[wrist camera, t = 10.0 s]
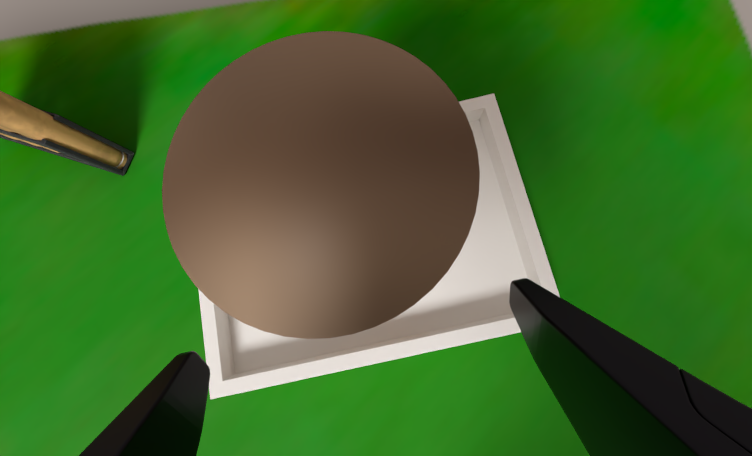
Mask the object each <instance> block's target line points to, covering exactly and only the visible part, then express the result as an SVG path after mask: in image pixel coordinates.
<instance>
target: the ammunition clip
mask: <svg viewBox="0 0 752 456" xmlns="http://www.w3.org/2000/svg"><path fill="white" fill-rule="evenodd" d="M0 137H1V138H4V139H7V140H10V141H13V142H16V143H20V144H23V145H26V146H29V147H32V148H36V149H39V150H42V151H45V152H49V153H52V154H55V155H58V156H61V157H65V158H68V159H71V160H74V161H77V162H81V163H84V164H87V165H90V166H93V167H97V168H100V169H103V170H106V171H109V172H113V173H116V174H119V175H122V176H123V175H124V174H125V172H126V170H127V168H128V166H129V164H130V161H131V159H132V157H133V155H134V152H132V151H130V150H128V149H126V148H124V147H122V146H120V145H118V144H116V143H114V142H112V141H110V140H108V139H106V138H104V137H102V136H100V135H98V134H96V133H94V132H92V131H90V130H88V129H86V128H83V127H81V126H79V125H77V124H75V123H73V122H71V121H69V120H67V119H65V118H63V117H61V116H59V115H57V114H53V113H50V112H47V111H43V110H40V109H37V108H35V107H33V106H31V105H29V104H27V103H25V102H23V101H21V100H19V99H16V98H14V97H12V96H10V95H8V94H6V93H4V92H2V91H0Z"/></svg>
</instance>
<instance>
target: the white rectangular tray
mask: <svg viewBox="0 0 752 456" xmlns="http://www.w3.org/2000/svg"><path fill="white" fill-rule="evenodd" d="M459 104H460V105H461V107H462V109H463V110H464V112H465V114H466V117H467V119H468V122H469V124H470V126H471V129H472V131H473V135H474V139H475V143H476V147H477V151H478V160H479V169H480V180H479V196H478V202H477V207H476V213H475V216H474V220H473V223H472V226H471V229H470V232H469V235H468V237H467V239H466V241H465V243H464V245H463V247H462V249H461V251H460V254H459V255H458V257H457V258H456V260H455V261H454V263H453V264H452V266H451V267H450V269H449V270H448V272H447V273H446V274H445V275H444V276H443V278H442V279H441V280H440V281H439V282H438V283H437V284H436V286H435V287H434V288H433V289H432V290H431V291H430V292H429V293H427V294H426V295H425V296H424V297H423V298H422V299H421V300H419V301H418V302H417V303H416V304H415V305H413V306H412V307H410V308H409V309H407V310H406V311H404V312H403V313H401V314H400V315H398V316H397V317H395V318H393V319H391V320H389V321H386V322H384V323H382V324H380V325H378V326H376V327H374V328H370V329H367V330H364V331H361V332H358V333H355V334H351V335H345V336H339V337H334V338H320V339H303V338H293V337H284V336H280V335H276V334H272V333H268V332H264V331H262V330H259V329H257V328H254V327H252V326H249V325H247V324H244V323H242V322H241V321H239V320H237V319H235V318H234V317H232V316H230V315H229V314H227V313H225V312H224V311H223V310H221V309H220V308H219V307H218V306H216V305H215V304H214V303H213V302H211V301H210V300H209V299H208V298H207V297H206V296H205V295H204V294H203V293H202V292H201V291H200V290H199V298H200V308H201V317H202V326H203V336H204V345H205V354H206V364H207V365H208V366H209V368H210V381H209V391H210V399H214V398H219V397H224V396H228V395H233V394H237V393H242V392H247V391H251V390H256V389H261V388H265V387H270V386H274V385H279V384H284V383H288V382H293V381H297V380H302V379H307V378H311V377H316V376H321V375H325V374H330V373H334V372H339V371H344V370H348V369H353V368H357V367H362V366H367V365H371V364H376V363H381V362H385V361H390V360H394V359H399V358H404V357H408V356H413V355H418V354H422V353H427V352H431V351H436V350H441V349H445V348H450V347H454V346H459V345H464V344H468V343H473V342H478V341H482V340H487V339H491V338H496V337H501V336H505V335H510V334H514V333H519V332H521V330H520V328H519V326H518V323H517V321H516V319H515V317H514V315H513V312H512V310H511V307H510V304H509V296H510V284H511V282H512V281H513V280H518V279H522V278H527V279H530V280H531V281H533V282H535V283H536V284H538V285H540V286H541V287H543V288H545V289H547V290H548V291H550V292H552V293H553V294H555V295H557V296H558V297H560V296H559V293H558V290H557V286H556V283H555V280H554V277H553V274H552V271H551V268H550V265H549V262H548V259H547V256H546V252H545V249H544V246H543V243H542V240H541V237H540V234H539V231H538V228H537V225H536V222H535V218H534V215H533V212H532V209H531V206H530V203H529V200H528V197H527V194H526V191H525V188H524V184H523V181H522V178H521V175H520V172H519V169H518V166H517V163H516V160H515V157H514V153H513V150H512V147H511V144H510V141H509V138H508V135H507V132H506V129H505V126H504V123H503V119H502V116H501V113H500V110H499V107H498V104H497V101H496V98H495V95H494V94H489V95H485V96H481V97H477V98H472V99H468V100H464V101H460V102H459Z"/></svg>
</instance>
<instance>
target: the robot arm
mask: <svg viewBox="0 0 752 456" xmlns="http://www.w3.org/2000/svg"><path fill="white" fill-rule="evenodd" d="M509 304H510V307H511V310H512V312H513V315H514V317H515V319H516V321H517V323H518V326H519V328H520V330H521V332H522V334H523V337H524V339H525V341H526V343H527V345H528V348H529V350H530V352H531V354H532V356H533V358H534V360H535V362H536V364H537V366H538V368H539V370H540V371H541V373H542V375H543V376H544V378H545V380H546V381H547V383H548V385H549V387H550V388H551V390H552V392H553V393H554V395H555V397H556V398H557V400H558V402H559V404H560V405H561V407H562V409H563V410H564V412H565V414H566V415H567V417H568V419H569V421H570V422H571V424H572V426H573V427H574V429H575V431H576V432H577V434H578V436H579V438H580V439H581V441H582V443H583V444H584V446H585V448H586V450H587V451H588V453H589V455H590V456H752V409H751V408H750V407H748V406H746V405H744V404H742V403H740V402H738V401H737V400H735V399H733V398H731V397H730V396H728V395H726V394H724V393H723V392H721V391H719V390H717V389H715V388H714V387H712V386H710V385H708V384H707V383H705V382H703V381H701V380H700V379H698V378H696V377H695V376H693V375H691V374H690V373H688V372H686V371H684V370H683V369H680V370H679V368H678V367H677V366H676V365H674V364H672V363H671V362H669V361H667V360H666V359H664V358H662V357H660V356H659V355H657V354H655V353H654V352H652V351H650V350H649V349H647V348H645V347H643V346H642V345H640V344H638V343H637V342H635V341H633V340H632V339H630V338H628V337H626V336H625V335H623V334H621V333H620V332H618V331H616V330H615V329H613V328H611V327H609V326H608V325H606V324H604V323H603V322H601V321H599V320H598V319H596V318H594V317H592V316H591V315H589V314H587V313H586V312H584V311H582V310H581V309H579V308H577V307H575V306H574V305H572V304H570V303H569V302H567V301H565V300H564V299H562V298H560V297H558V296H557V295H555V294H553V293H552V292H550V291H548V290H547V289H545V288H543V287H541V286H540V285H538V284H536V283H535V282H533V281H531V280H530V279H527V278H522V279H518V280H513V281H512V282H511V284H510V296H509ZM209 381H210V368H209V366H208V365H207V364H206V363H205V362H204V360H203V359H202V358H201V357H200V356H199V355H198V354H197V353H196V352H194V351H190V352H185V353H181V354H179V355H177V356H176V357H175V358H174V359H173V360H172V361H171V362H170V363H169V364H168V365H167V366H166V367H165V368H164V369H163V370H162V371H161V372H160V373H159V374H158V375H157V376H156V377H155V378H154V379H153V380H152V381H151V382H150V383H149V384H148V385H147V386H146V387H145V388H144V389H143V390H142V391H141V392H140V393H139V395H138V396H137V397H136V398H135V399H134V400H133V401H132V402H131V403H130V404H129V405H128V406H127V407H126V408H125V409H124V410H123V411H122V412H121V413H120V414H119V415H118V416H117V417H116V418H115V419H114V420H113V421H112V422H111V423H110V424H109V425H108V426H107V427H106V428H105V429H104V430H103V431H102V432H101V433H100V434H99V435H98V436H97V438H96V439H95V440H94V441H93V442H92V443H91V444H90V445H89V446H88V447H87V448H86V449H85V450H84V451H83V452H82V453H81V454H80V455H79V456H196V454H197V450H198V446H199V442H200V437H201V433H202V427H203V422H204V415H205V408H206V401H207V394H208V387H209Z"/></svg>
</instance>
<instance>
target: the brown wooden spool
mask: <svg viewBox="0 0 752 456" xmlns="http://www.w3.org/2000/svg"><path fill="white" fill-rule="evenodd" d="M479 180H480V169H479V160H478V151H477V147H476V143H475V139H474V135H473V131H472V129H471V126H470V124H469V122H468V119H467V117H466V114H465V112H464V110H463V109H462V107H461V105H460V104H459V102H458V100H457V98H456V97H455V95H454V94H453V93H452V91H451V90H450V89H449V88H448V86H447V85H446V84H445V82H444V81H443V80H442V79H441V78H440V77H439V76H438V75H437V74H436V73H435V72H434V71H433V70H432V69H431V68H430V67H428V66H427V65H426V64H424V63H423V62H422V61H420V60H419V59H418V58H416V57H415V56H413V55H411V54H410V53H408V52H406V51H404V50H403V49H401V48H399V47H397V46H395V45H392V44H390V43H387V42H385V41H383V40H380V39H376V38H373V37H369V36H365V35H361V34H355V33H348V32H332V31H322V32H310V33H303V34H298V35H293V36H288V37H285V38H281V39H278V40H275V41H272V42H269V43H267V44H265V45H262V46H260V47H258V48H256V49H253V50H251V51H250V52H248V53H246V54H245V55H243V56H241V57H240V58H238V59H236V60H235V61H233V62H232V63H231V64H229V65H228V66H227V67H225V68H224V69H223V70H221V71H220V72H219V73H218V74H217V75H216V76H215V77H214V78H213V79H212V80H211V81H210V82H208V83H207V84H206V85H205V87H204V88H203V89H202V90H201V91H200V93H199V94H198V95H197V96H196V97H195V99H194V100H193V101H192V103H191V104H190V106H189V107H188V109H187V111H186V112H185V114H184V115H183V117H182V119H181V121H180V123H179V125H178V127H177V129H176V131H175V133H174V136H173V139H172V141H171V144H170V147H169V150H168V153H167V158H166V163H165V168H164V174H163V186H162V198H163V212H164V218H165V223H166V228H167V232H168V235H169V238H170V241H171V244H172V247H173V250H174V252H175V253H176V255H177V257H178V259H179V261H180V263H181V265H182V267H183V269H184V270H185V272H186V273H187V274H188V276H189V277H190V279H191V280H192V282H193V283H194V284H195V285H196V287H197V288H198V289H199V290H200V291H201V292H202V293H203V294H204V295H205V296H206V297H207V298H208V299H209V300H210V301H211V302H213V303H214V304H215V305H216V306H218V307H219V308H220V309H221V310H223V311H224V312H225V313H227V314H229V315H230V316H232V317H234V318H235V319H237V320H239V321H241V322H242V323H244V324H247V325H249V326H252V327H254V328H257V329H259V330H262V331H264V332H268V333H272V334H276V335H280V336H284V337H293V338H303V339H320V338H334V337H339V336H345V335H351V334H355V333H358V332H361V331H364V330H367V329H370V328H374V327H376V326H378V325H380V324H382V323H384V322H386V321H389V320H391V319H393V318H395V317H397V316H398V315H400V314H401V313H403V312H404V311H406V310H407V309H409V308H410V307H412V306H413V305H415V304H416V303H417V302H418V301H419V300H421V299H422V298H423V297H424V296H425V295H426V294H427V293H429V292H430V291H431V290H432V289H433V288H434V287H435V286H436V284H437V283H438V282H439V281H440V280H441V279H442V278H443V276H444V275H445V274H446V273H447V272H448V270H449V269H450V267H451V266H452V264H453V263H454V261H455V260H456V258H457V257H458V255H459V254H460V251H461V249H462V247H463V245H464V243H465V241H466V239H467V237H468V235H469V232H470V229H471V226H472V223H473V220H474V216H475V213H476V207H477V202H478V196H479Z"/></svg>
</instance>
